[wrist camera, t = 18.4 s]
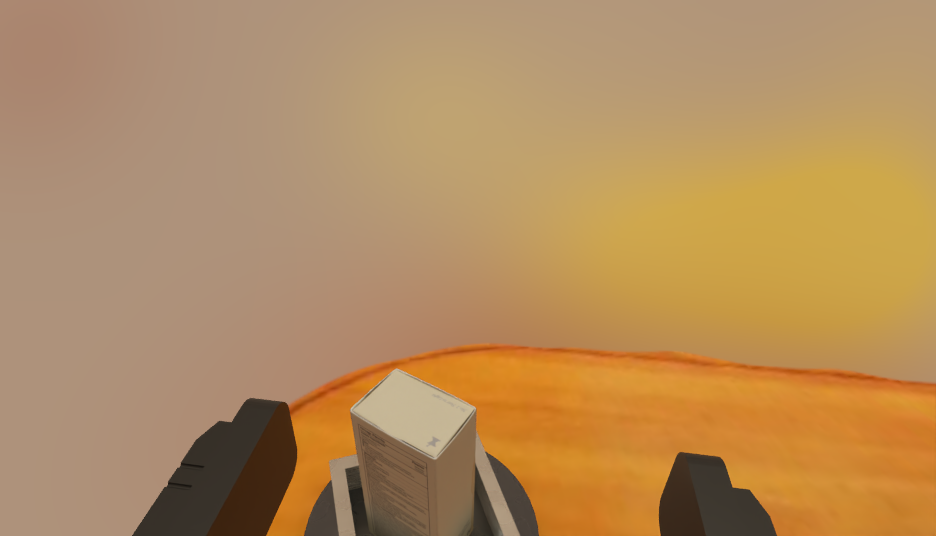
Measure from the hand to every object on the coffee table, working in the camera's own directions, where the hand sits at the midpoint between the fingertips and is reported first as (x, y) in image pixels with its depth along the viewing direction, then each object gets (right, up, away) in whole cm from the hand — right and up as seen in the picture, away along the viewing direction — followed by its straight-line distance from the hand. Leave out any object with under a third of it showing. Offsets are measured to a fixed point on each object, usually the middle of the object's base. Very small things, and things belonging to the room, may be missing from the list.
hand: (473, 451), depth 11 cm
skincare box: (-4, -14, +26) cm, 30 cm away
